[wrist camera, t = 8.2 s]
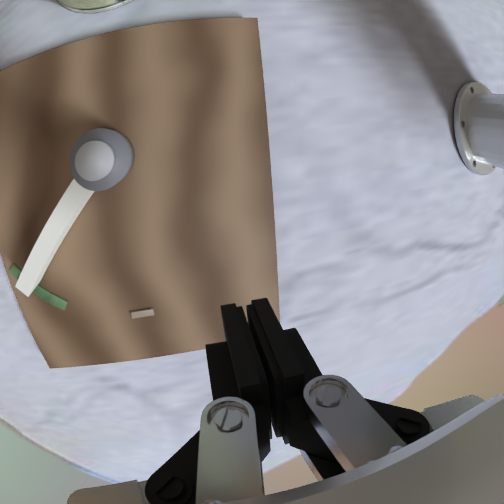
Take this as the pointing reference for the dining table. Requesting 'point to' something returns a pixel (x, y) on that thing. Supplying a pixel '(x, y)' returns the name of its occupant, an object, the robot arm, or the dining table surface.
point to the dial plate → (142, 189)
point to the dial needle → (79, 194)
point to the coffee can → (92, 5)
